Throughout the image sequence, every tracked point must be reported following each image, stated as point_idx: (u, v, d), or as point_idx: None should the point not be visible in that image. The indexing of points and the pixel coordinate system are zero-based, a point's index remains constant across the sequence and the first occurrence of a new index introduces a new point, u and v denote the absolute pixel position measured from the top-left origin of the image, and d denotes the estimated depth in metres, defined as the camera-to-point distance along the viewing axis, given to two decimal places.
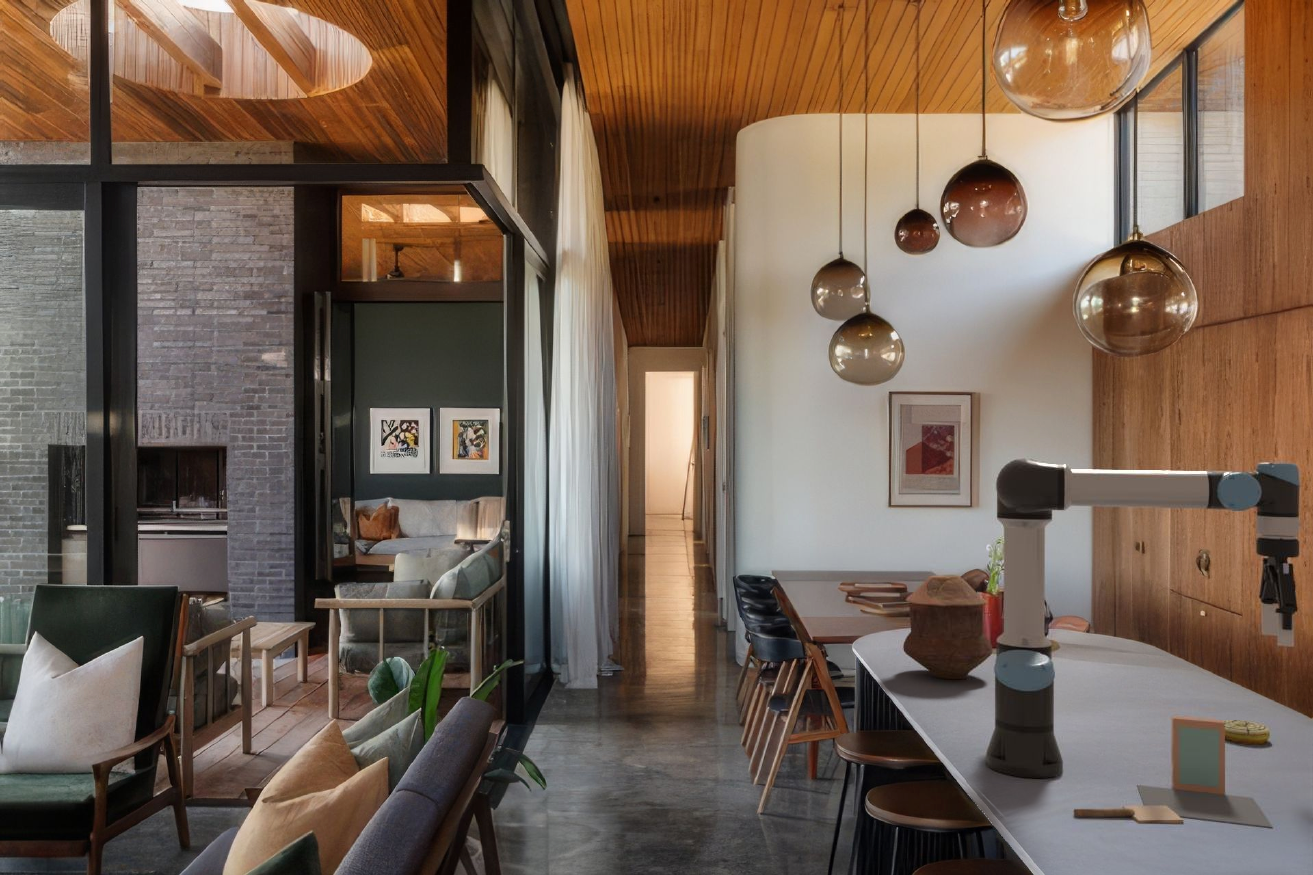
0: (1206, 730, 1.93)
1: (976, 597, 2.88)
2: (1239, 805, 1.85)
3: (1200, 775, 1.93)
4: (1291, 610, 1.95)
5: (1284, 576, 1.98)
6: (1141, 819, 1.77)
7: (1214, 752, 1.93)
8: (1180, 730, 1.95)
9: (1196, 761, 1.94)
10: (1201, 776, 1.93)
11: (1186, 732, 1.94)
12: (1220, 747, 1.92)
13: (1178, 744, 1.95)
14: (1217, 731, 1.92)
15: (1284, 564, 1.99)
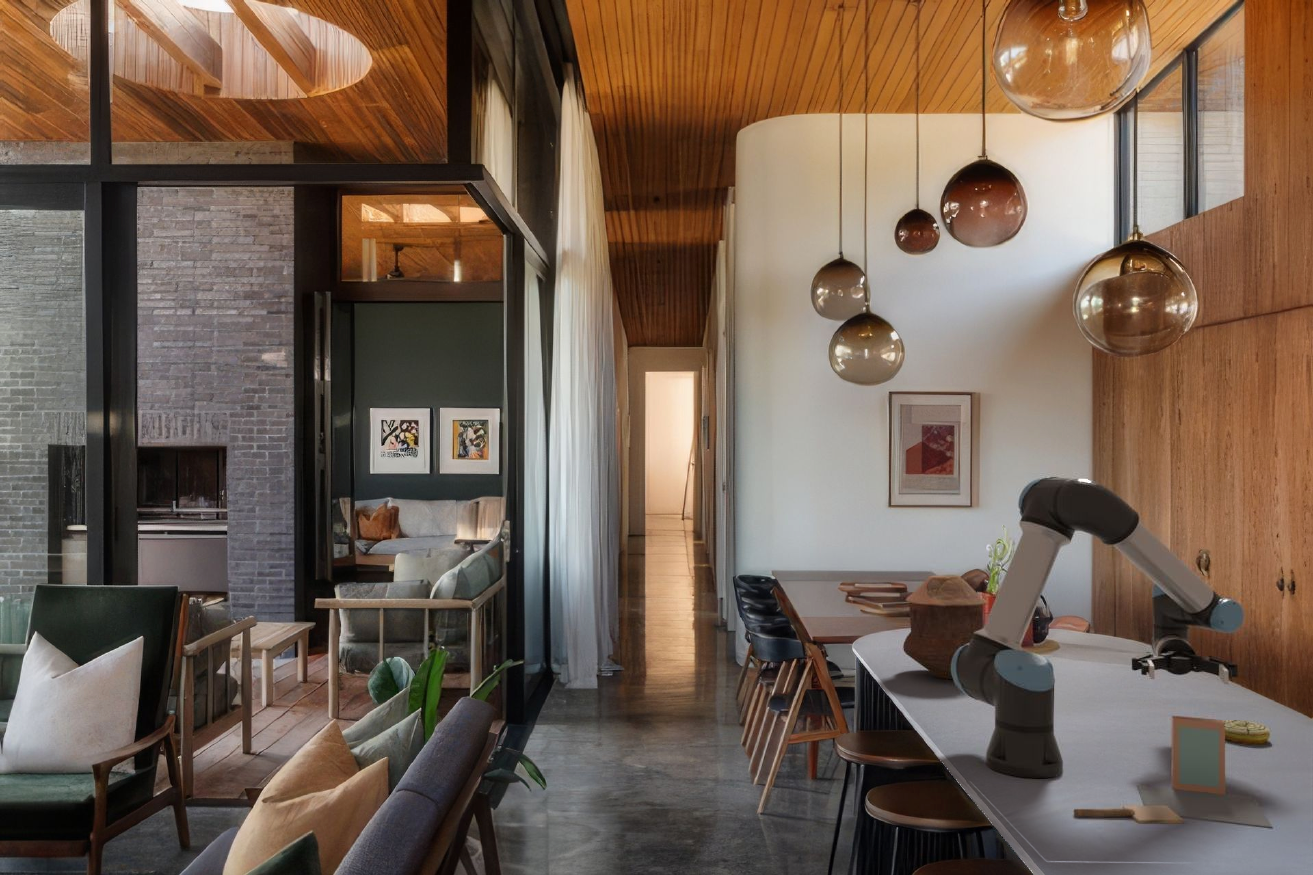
0: (1206, 730, 1.93)
1: (976, 597, 2.88)
2: (1239, 805, 1.85)
3: (1200, 775, 1.93)
4: (1237, 672, 2.09)
5: None
6: (1141, 819, 1.77)
7: (1214, 752, 1.93)
8: (1180, 730, 1.95)
9: (1196, 761, 1.94)
10: (1201, 776, 1.93)
11: (1186, 732, 1.94)
12: (1220, 747, 1.92)
13: (1178, 744, 1.95)
14: (1217, 731, 1.92)
15: None
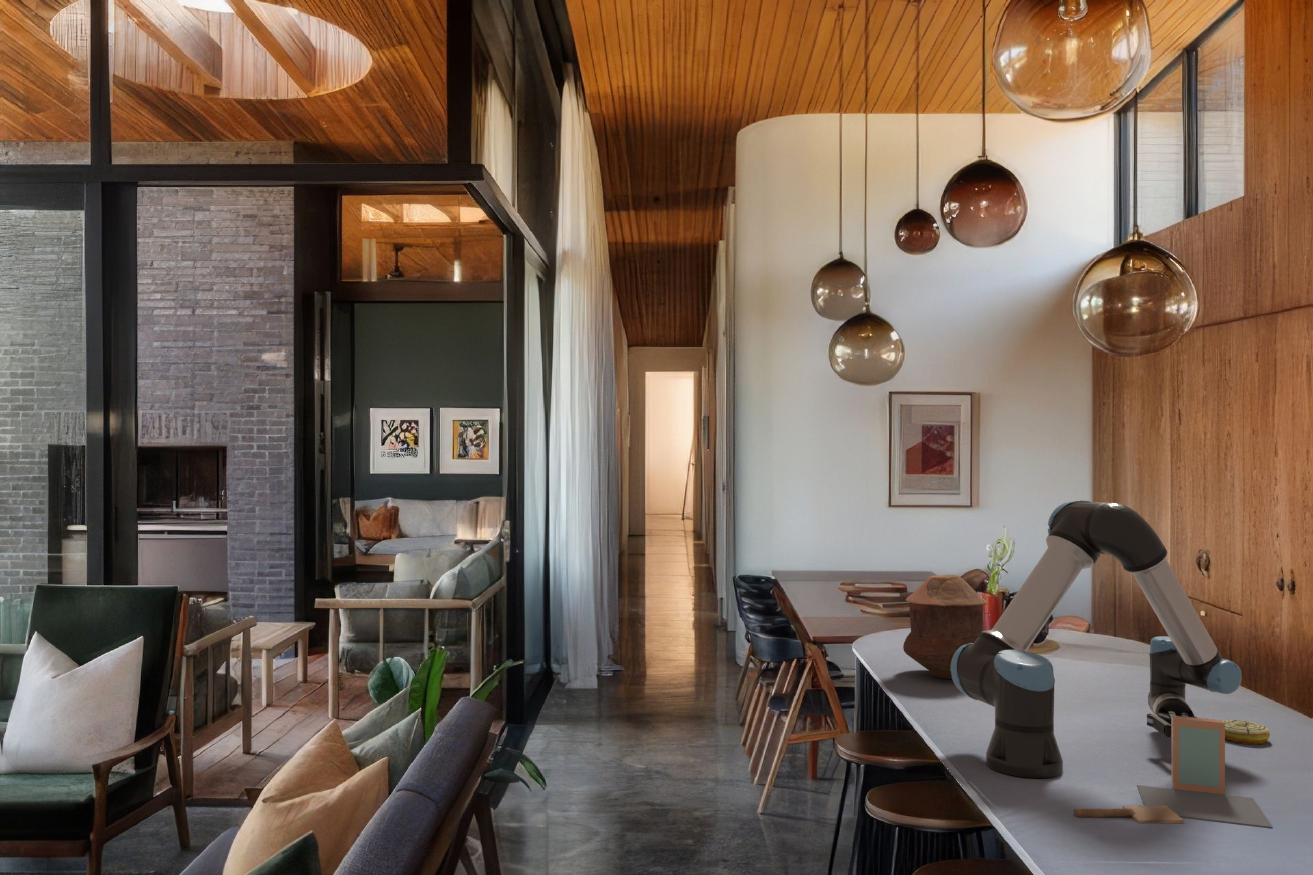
0: (1206, 730, 1.93)
1: (976, 597, 2.88)
2: (1239, 805, 1.85)
3: (1200, 775, 1.93)
4: None
5: None
6: (1141, 819, 1.77)
7: (1214, 752, 1.93)
8: (1180, 730, 1.95)
9: (1196, 761, 1.94)
10: (1201, 776, 1.93)
11: (1186, 732, 1.94)
12: (1220, 747, 1.92)
13: (1178, 744, 1.95)
14: (1217, 731, 1.93)
15: None
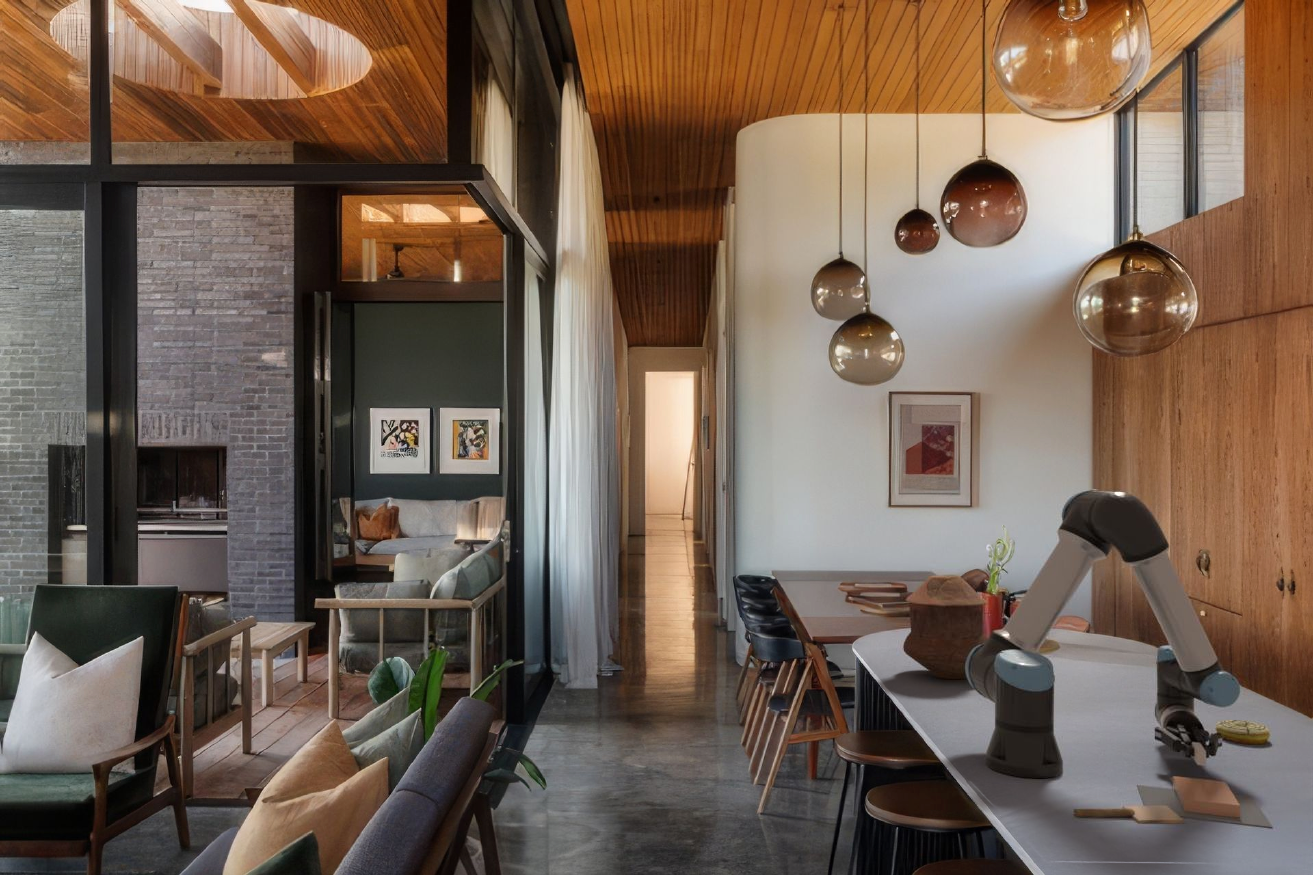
0: None
1: (976, 597, 2.88)
2: None
3: None
4: (1214, 750, 1.98)
5: (1218, 740, 2.04)
6: (1141, 819, 1.77)
7: None
8: None
9: None
10: None
11: None
12: None
13: None
14: None
15: None
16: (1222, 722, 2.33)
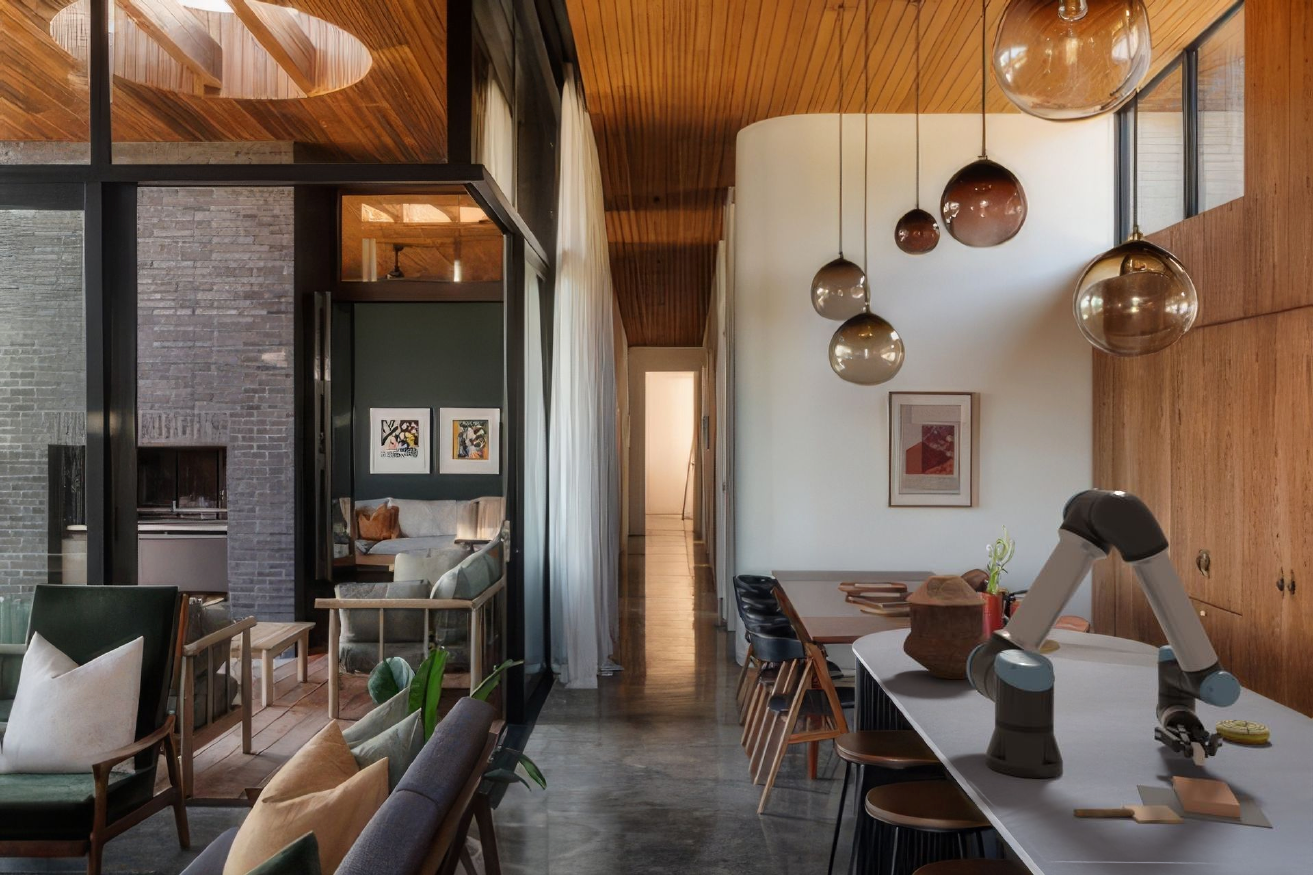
0: None
1: (976, 597, 2.88)
2: None
3: None
4: (1214, 751, 1.98)
5: (1218, 740, 2.03)
6: (1141, 819, 1.77)
7: None
8: None
9: None
10: None
11: None
12: None
13: None
14: None
15: None
16: (1222, 722, 2.33)
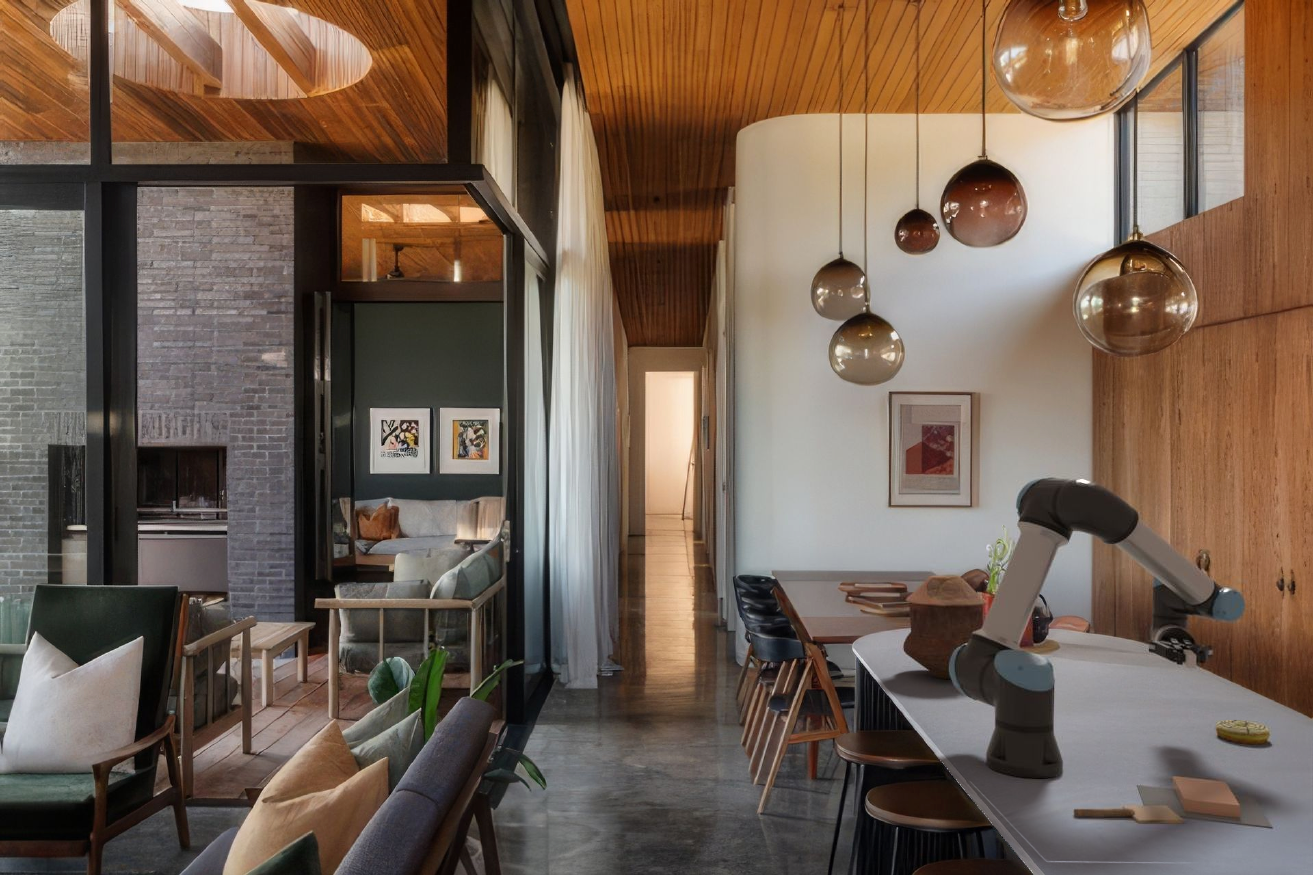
0: None
1: (976, 597, 2.88)
2: None
3: None
4: (1205, 658, 2.11)
5: (1208, 651, 2.16)
6: (1141, 819, 1.77)
7: None
8: None
9: None
10: None
11: None
12: None
13: None
14: None
15: None
16: (1222, 722, 2.33)
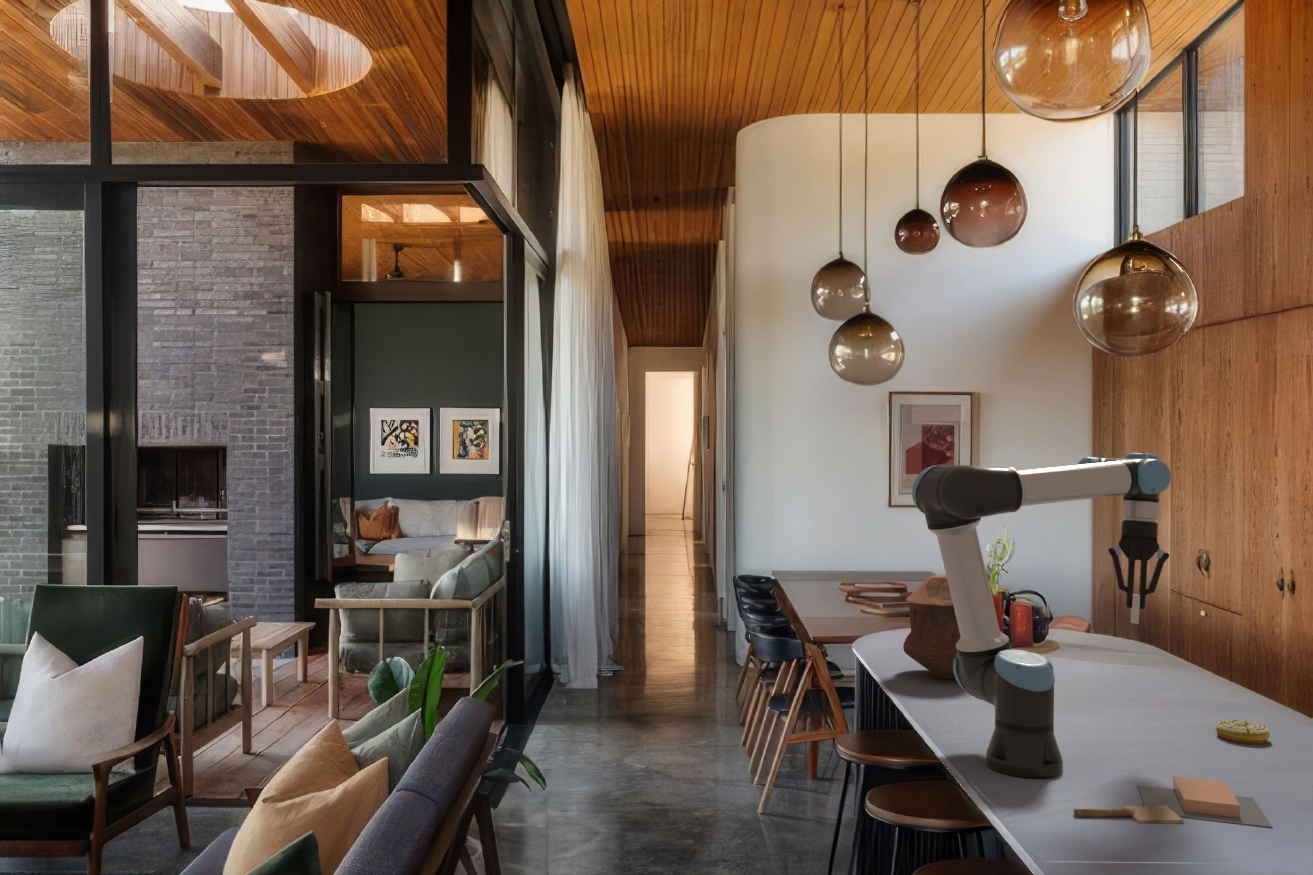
0: None
1: None
2: None
3: None
4: None
5: None
6: (1141, 819, 1.77)
7: None
8: None
9: None
10: None
11: None
12: None
13: None
14: None
15: (1168, 555, 2.26)
16: (1222, 722, 2.33)
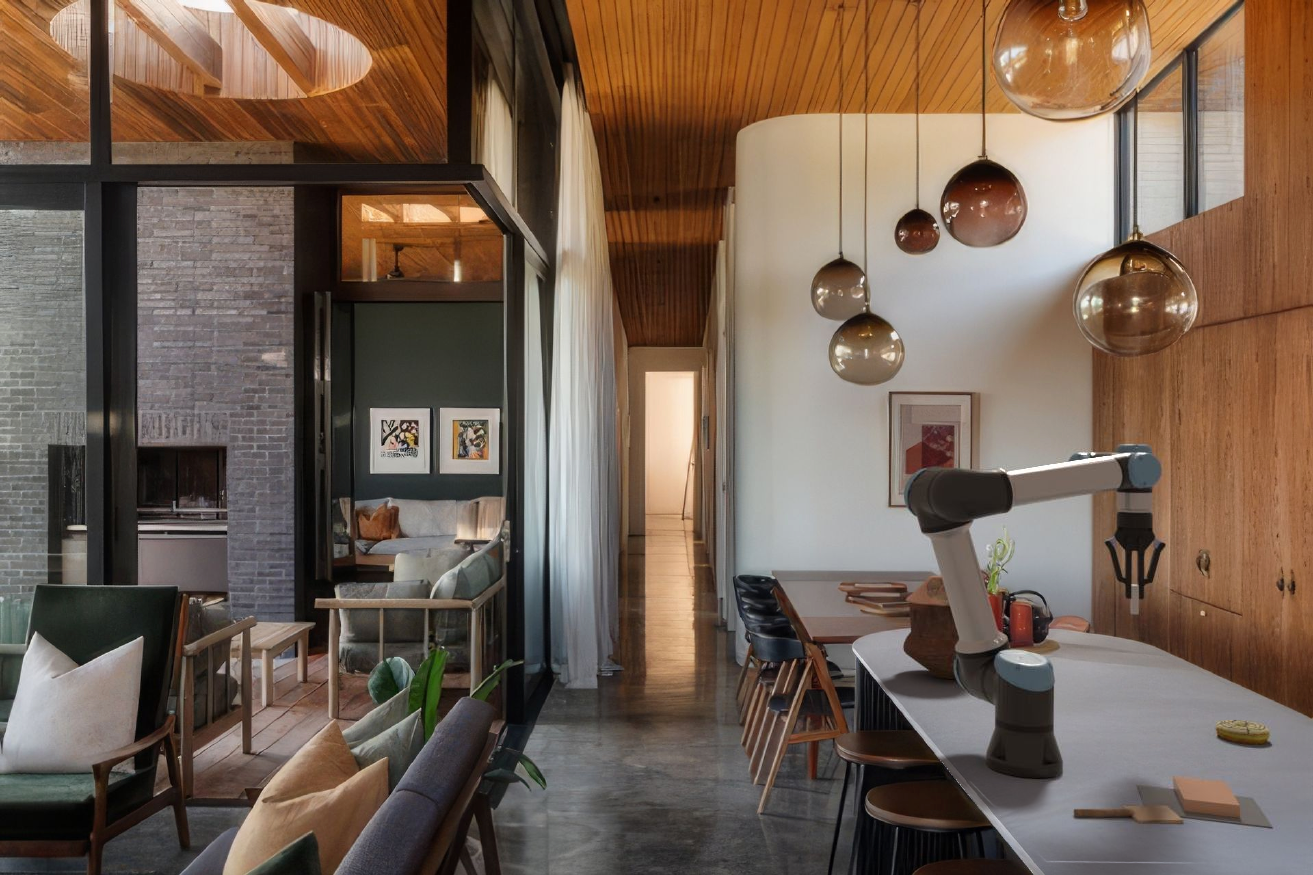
0: None
1: None
2: None
3: None
4: None
5: None
6: (1141, 819, 1.77)
7: None
8: None
9: None
10: None
11: None
12: None
13: None
14: None
15: None
16: (1222, 722, 2.33)
